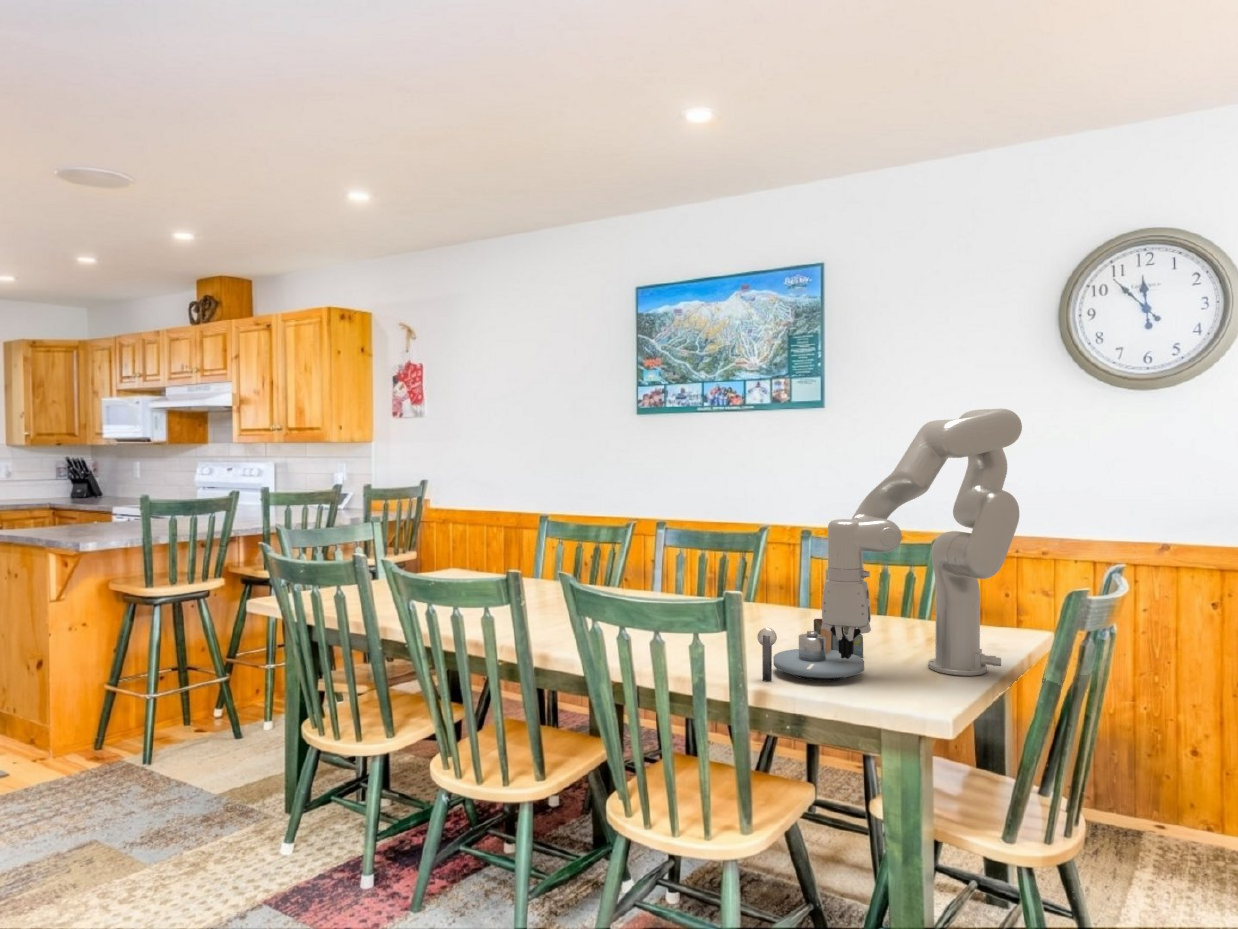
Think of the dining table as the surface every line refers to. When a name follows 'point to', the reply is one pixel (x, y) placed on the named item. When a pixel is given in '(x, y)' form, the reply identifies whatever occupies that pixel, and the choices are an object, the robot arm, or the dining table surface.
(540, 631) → the dining table surface
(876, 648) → the dining table surface
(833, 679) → the pedestal
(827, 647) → the turntable
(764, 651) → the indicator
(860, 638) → the beverage carton
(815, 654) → the cover
